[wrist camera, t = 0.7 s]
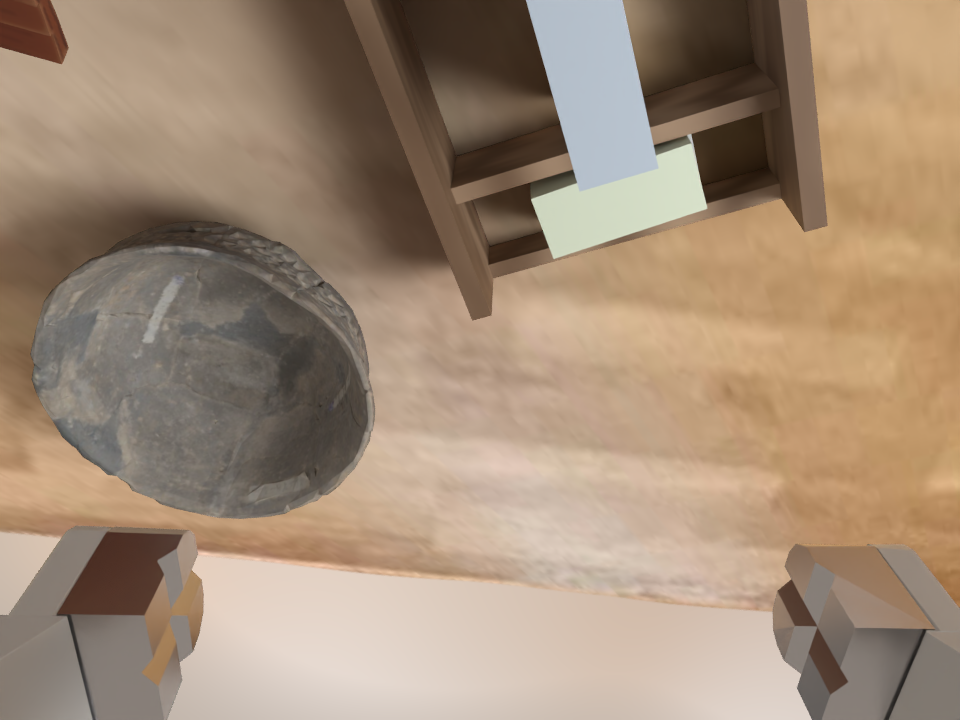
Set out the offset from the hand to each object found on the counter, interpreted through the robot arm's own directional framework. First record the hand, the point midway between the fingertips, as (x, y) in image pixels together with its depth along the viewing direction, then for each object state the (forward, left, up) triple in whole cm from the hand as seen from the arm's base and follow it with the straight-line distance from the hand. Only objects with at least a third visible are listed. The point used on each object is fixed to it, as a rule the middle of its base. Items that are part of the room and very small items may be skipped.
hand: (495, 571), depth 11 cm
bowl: (+24, +14, -40) cm, 48 cm away
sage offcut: (-3, +11, -37) cm, 39 cm away
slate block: (-3, +1, -40) cm, 40 cm away
